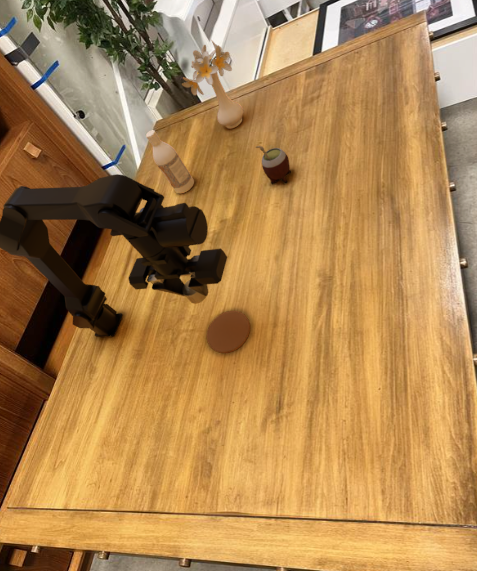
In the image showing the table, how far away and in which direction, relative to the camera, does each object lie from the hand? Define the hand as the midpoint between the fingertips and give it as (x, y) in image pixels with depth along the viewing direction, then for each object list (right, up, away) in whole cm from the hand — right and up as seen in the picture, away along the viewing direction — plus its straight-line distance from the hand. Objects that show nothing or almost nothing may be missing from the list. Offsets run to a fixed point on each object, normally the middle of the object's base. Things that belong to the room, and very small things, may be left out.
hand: (197, 294), depth 76 cm
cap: (0, 0, 0) cm, 0 cm away
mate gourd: (+20, +31, +30) cm, 48 cm away
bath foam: (-9, +33, +47) cm, 58 cm away
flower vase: (+7, +57, +57) cm, 81 cm away
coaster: (+6, -8, +8) cm, 13 cm away
